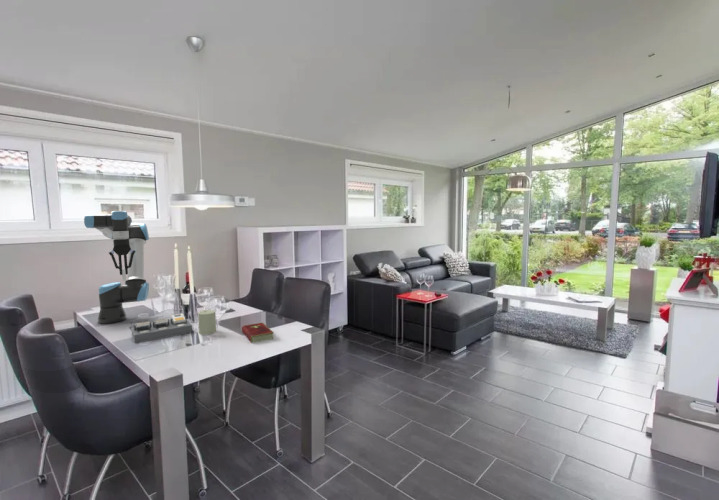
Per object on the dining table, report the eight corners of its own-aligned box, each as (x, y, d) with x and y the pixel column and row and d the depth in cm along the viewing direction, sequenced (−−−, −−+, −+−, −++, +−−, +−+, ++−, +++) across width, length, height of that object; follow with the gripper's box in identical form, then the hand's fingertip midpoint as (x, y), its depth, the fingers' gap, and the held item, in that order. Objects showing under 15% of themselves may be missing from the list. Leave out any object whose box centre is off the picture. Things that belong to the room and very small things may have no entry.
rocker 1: (135, 326, 205) (135, 323, 205) (148, 324, 208) (147, 321, 208) (137, 326, 198) (136, 323, 198) (149, 324, 202) (149, 321, 202)
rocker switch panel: (131, 334, 205) (130, 322, 205) (186, 325, 222) (185, 314, 221) (134, 342, 193) (133, 330, 192) (192, 332, 209) (191, 320, 208)
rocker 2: (171, 317, 215) (171, 315, 215) (182, 315, 219) (182, 313, 218) (174, 323, 209) (174, 321, 209) (185, 321, 213) (185, 319, 212)
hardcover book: (251, 343, 191) (250, 335, 190) (241, 332, 209) (241, 325, 208) (273, 339, 197) (273, 332, 196) (262, 329, 215) (262, 322, 214)
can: (212, 328, 216) (211, 308, 214) (219, 331, 209) (218, 311, 208) (196, 332, 209) (195, 311, 208) (202, 335, 203) (201, 314, 201)
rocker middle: (154, 323, 210) (153, 320, 210) (165, 321, 213) (165, 318, 214) (156, 323, 204) (155, 320, 204) (168, 321, 207) (167, 318, 207)
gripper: (107, 239, 200) (110, 282, 202) (135, 238, 207) (138, 280, 210) (106, 238, 206) (110, 280, 208) (134, 237, 213) (137, 278, 216)
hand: (124, 280), depth 209 cm, fingers closed
